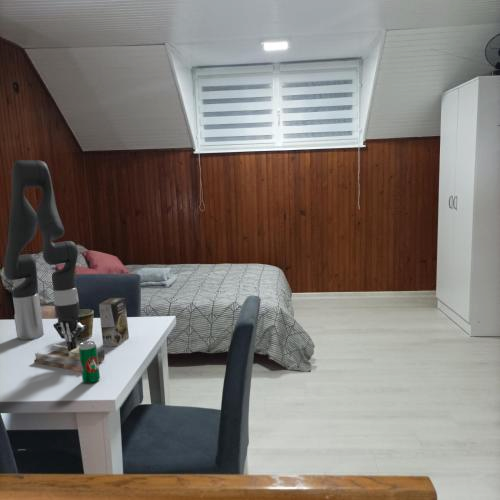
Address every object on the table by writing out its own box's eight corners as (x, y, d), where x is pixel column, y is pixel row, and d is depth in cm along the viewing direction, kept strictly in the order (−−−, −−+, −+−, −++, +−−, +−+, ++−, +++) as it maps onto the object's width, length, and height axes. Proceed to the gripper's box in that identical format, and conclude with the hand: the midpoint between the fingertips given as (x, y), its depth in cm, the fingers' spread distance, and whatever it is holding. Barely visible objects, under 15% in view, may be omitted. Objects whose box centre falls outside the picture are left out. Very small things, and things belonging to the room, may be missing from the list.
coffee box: (118, 346, 165) (113, 304, 162) (102, 346, 166) (97, 303, 164) (129, 337, 174) (125, 297, 171) (114, 337, 175) (110, 297, 172)
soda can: (85, 377, 140) (81, 341, 138) (101, 376, 140) (97, 339, 138) (80, 385, 135) (76, 347, 133) (97, 383, 135) (93, 345, 133)
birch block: (70, 363, 149) (68, 351, 148) (83, 356, 154) (82, 345, 154) (83, 365, 146) (82, 353, 146) (96, 358, 152) (95, 347, 151)
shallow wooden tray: (34, 362, 154) (32, 351, 153) (57, 351, 163) (56, 341, 162) (84, 372, 144) (82, 360, 143) (106, 360, 153) (105, 348, 152)
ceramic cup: (100, 332, 181) (97, 308, 179) (89, 341, 171) (86, 316, 170) (69, 333, 182) (66, 309, 181) (57, 342, 173) (53, 317, 171)
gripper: (42, 303, 149) (49, 352, 151) (72, 306, 143) (78, 357, 146) (61, 297, 155) (67, 344, 158) (89, 299, 150) (95, 349, 152)
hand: (72, 350), depth 152 cm, fingers closed
